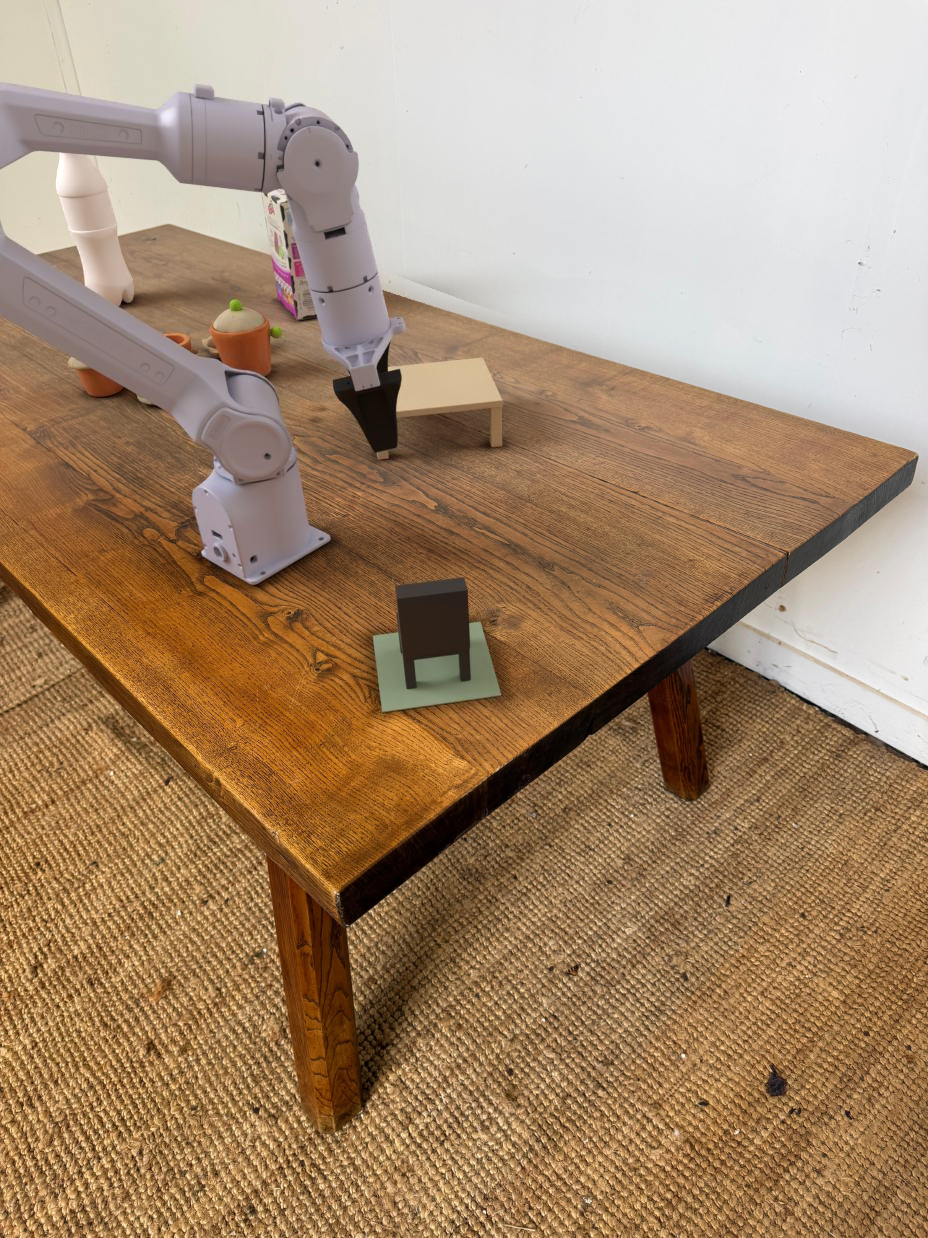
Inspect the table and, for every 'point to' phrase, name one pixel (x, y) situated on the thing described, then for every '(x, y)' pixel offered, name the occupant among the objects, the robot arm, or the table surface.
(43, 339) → the robot arm
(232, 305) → the toy tea set
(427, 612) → the toy chair
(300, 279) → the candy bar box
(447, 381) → the side table
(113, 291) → the water bottle
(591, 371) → the table surface
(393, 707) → the mat
